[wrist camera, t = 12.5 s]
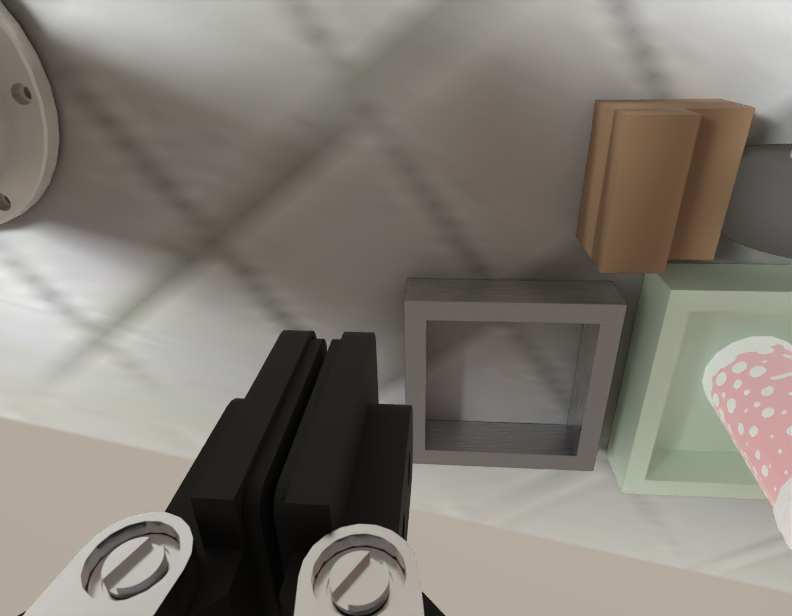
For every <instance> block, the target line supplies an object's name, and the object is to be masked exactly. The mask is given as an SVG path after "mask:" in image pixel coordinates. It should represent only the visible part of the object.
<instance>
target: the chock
mask: <svg viewBox="0 0 792 616" xmlns="http://www.w3.org/2000/svg"><path fill="white" fill-rule="evenodd" d="M754 111H755V108H754V107H750V106H746V105H742V104H738V103H734V102H730V101H726V100H722V99H672V100H596V101H595V108H594V115H593V122H592V129H591V136H590V143H589V150H588V156H587V163H586V170H585V177H584V184H583V191H582V198H581V205H580V212H579V219H578V226H577V233H576V237H577V238H578V240H579V241H580V243H581V244H582V246H583V248H584V249H585V251H586V252H587V254H588V255H589V257H590V259H591V260H592V262H593V263H594V265H595V266H596V268H597V269H598V271H599V273H641V274H664V273H665V269H666V265H667V261H668V260H713V259H714V255H715V252H716V248H717V245H718V241H719V237H720V234H721V230H722V227H723V223H724V219H725V216H726V212H727V209H728V205H729V201H730V198H731V194H732V191H733V187H734V183H735V180H736V176H737V173H738V169H739V165H740V162H741V158H742V154H743V151H744V147H745V144H746V140H747V136H748V133H749V129H750V126H751V122H752V118H753V115H754Z"/></svg>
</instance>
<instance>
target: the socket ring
mask: <svg viewBox="0 0 792 616" xmlns="http://www.w3.org/2000/svg"><path fill="white" fill-rule="evenodd" d="M626 308H627V304H626V302H625V301H624V299H623V298H622V296H621V295H620V293H619V292H618V290H617V289H616V287H615V286H614V284H613V283H612V281H544V280H475V279H407V285H406V292H405V299H404V323H405V390H406V405H412V409H413V462H412V463H415V464H439V465H462V466H486V467H510V468H533V469H557V470H580V471H593V470H594V465H595V460H596V455H597V450H598V445H599V440H600V435H601V431H602V426H603V421H604V416H605V411H606V406H607V401H608V396H609V391H610V386H611V382H612V377H613V372H614V367H615V362H616V357H617V352H618V347H619V342H620V337H621V332H622V328H623V323H624V318H625V313H626ZM427 320H437V321H485V322H533V323H582V324H583V330H582V336H581V343H580V349H579V355H578V361H577V367H576V373H575V379H574V385H573V391H572V397H571V403H570V410H569V416H568V422H567V425H554V424H526V423H498V422H470V421H442V420H426V388H427Z"/></svg>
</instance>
